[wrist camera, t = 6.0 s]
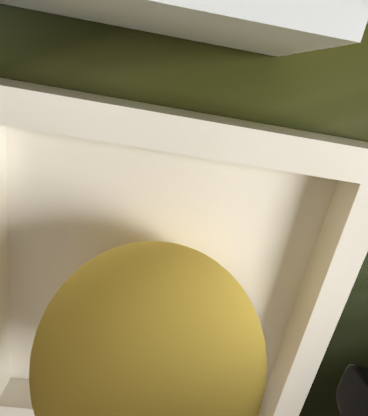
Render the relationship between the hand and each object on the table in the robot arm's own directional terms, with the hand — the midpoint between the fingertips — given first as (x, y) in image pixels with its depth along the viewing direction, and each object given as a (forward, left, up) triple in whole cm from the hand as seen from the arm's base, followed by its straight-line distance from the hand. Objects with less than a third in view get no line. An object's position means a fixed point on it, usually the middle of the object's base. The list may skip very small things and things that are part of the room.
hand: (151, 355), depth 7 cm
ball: (0, 0, -3) cm, 3 cm away
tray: (0, 0, -3) cm, 3 cm away
